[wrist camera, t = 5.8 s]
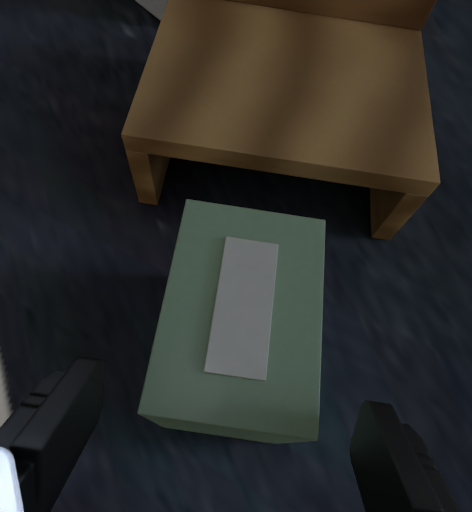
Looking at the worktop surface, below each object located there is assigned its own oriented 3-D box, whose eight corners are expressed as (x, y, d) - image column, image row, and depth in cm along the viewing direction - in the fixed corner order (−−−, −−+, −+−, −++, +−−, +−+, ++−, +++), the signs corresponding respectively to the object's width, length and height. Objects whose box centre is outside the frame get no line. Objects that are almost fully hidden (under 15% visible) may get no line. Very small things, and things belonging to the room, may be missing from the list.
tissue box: (162, 427, 19) (136, 413, 12) (191, 277, 23) (186, 196, 15) (275, 443, 19) (319, 440, 12) (287, 292, 23) (327, 217, 15)
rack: (138, 202, 25) (107, 83, 17) (179, 65, 30) (170, -73, 22) (389, 240, 25) (479, 140, 17) (381, 96, 31) (445, -30, 22)
